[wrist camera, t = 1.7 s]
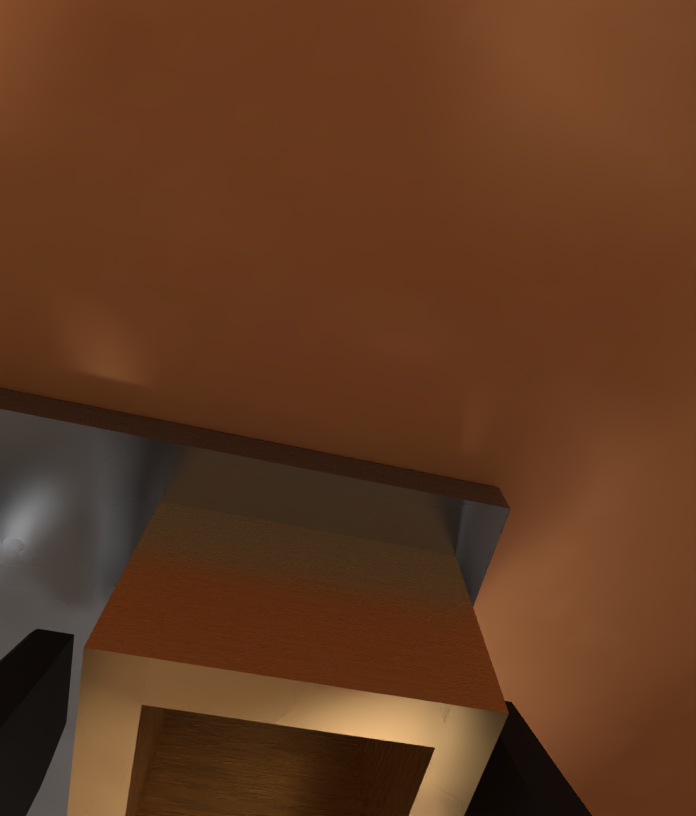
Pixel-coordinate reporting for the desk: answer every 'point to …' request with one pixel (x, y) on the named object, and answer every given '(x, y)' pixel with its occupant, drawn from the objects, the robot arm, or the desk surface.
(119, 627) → the collar
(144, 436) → the steel plate
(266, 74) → the desk surface
